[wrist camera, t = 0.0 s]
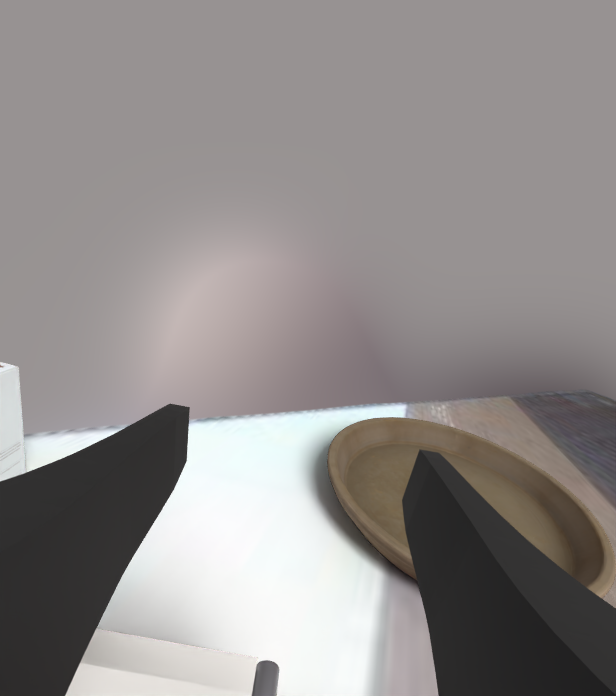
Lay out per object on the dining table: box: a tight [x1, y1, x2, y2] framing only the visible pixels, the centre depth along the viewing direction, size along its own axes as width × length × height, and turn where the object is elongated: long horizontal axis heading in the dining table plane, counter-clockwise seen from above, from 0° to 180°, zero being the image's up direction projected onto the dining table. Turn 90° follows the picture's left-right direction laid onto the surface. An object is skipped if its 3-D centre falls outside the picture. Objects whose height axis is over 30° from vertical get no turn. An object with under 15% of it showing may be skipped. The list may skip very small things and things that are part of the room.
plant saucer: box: [327, 417, 616, 598], centre depth 44 cm, size 31×31×5 cm
